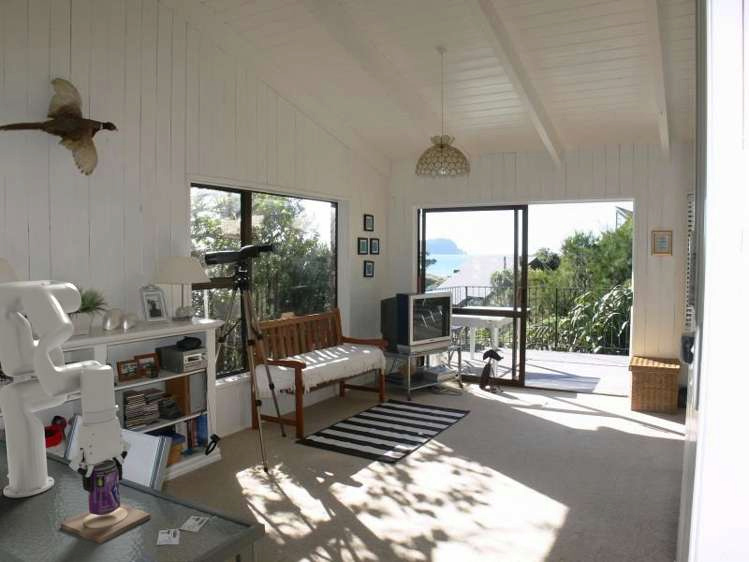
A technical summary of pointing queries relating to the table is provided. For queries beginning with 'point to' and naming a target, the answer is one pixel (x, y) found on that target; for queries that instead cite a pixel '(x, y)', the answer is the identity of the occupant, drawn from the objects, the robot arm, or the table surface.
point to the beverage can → (104, 488)
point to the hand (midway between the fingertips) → (103, 484)
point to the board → (105, 523)
